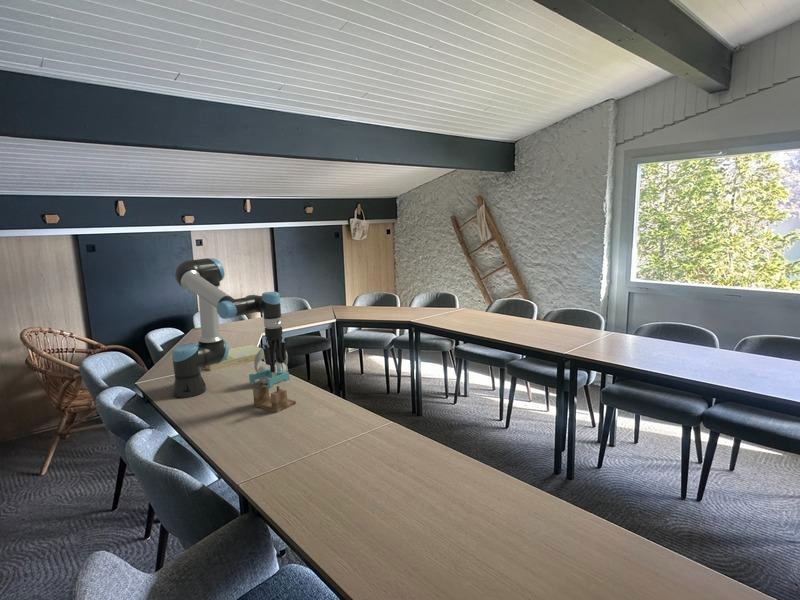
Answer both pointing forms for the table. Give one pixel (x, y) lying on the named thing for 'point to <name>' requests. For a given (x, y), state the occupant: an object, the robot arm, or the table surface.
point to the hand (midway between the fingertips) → (277, 377)
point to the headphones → (262, 368)
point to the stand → (271, 399)
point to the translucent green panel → (237, 357)
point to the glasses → (269, 377)
